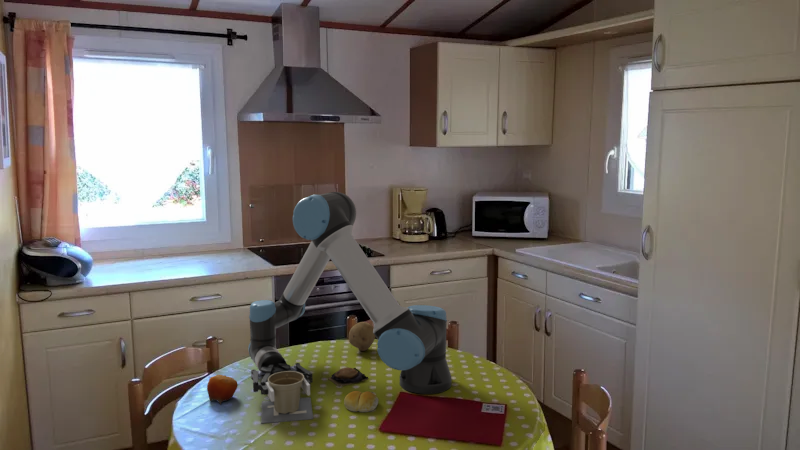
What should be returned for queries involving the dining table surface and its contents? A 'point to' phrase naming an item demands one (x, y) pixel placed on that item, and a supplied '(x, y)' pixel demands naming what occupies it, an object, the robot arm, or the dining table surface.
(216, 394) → the fruit
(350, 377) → the abalone
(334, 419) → the dining table surface
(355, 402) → the bread roll
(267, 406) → the tile
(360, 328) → the potato
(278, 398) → the flower pot
